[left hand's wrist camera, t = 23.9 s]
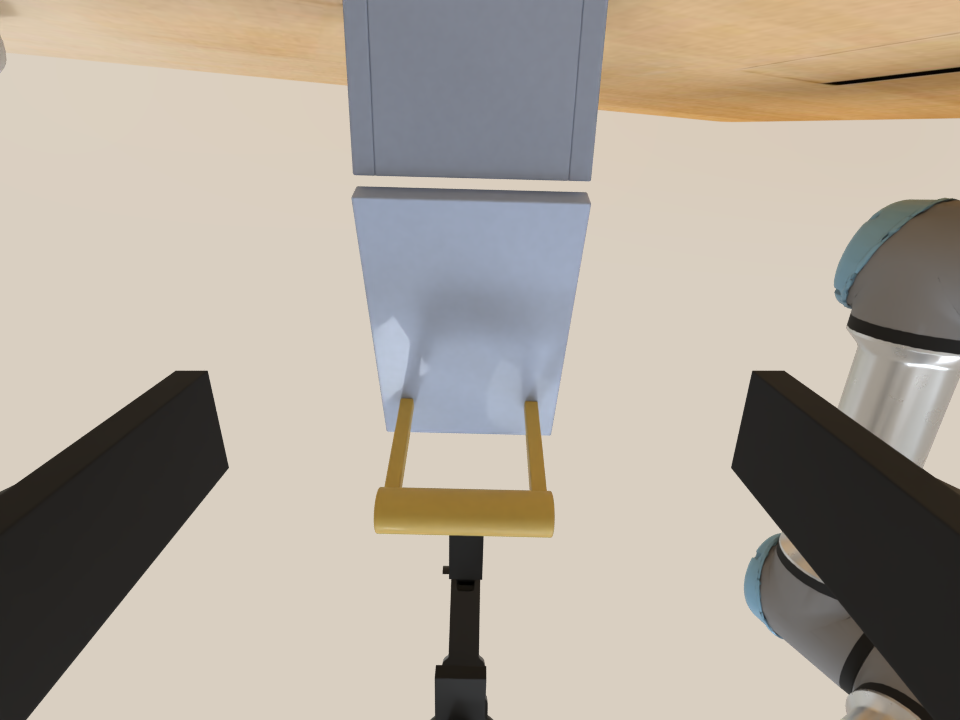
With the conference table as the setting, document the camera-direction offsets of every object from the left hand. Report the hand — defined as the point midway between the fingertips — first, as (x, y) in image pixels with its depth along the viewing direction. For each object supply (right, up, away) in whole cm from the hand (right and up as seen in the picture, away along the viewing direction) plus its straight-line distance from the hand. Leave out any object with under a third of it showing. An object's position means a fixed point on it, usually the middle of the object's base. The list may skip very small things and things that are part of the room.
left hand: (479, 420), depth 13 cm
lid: (0, +3, +13) cm, 13 cm away
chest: (0, +20, +11) cm, 22 cm away
